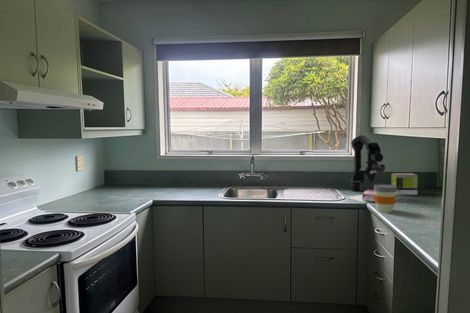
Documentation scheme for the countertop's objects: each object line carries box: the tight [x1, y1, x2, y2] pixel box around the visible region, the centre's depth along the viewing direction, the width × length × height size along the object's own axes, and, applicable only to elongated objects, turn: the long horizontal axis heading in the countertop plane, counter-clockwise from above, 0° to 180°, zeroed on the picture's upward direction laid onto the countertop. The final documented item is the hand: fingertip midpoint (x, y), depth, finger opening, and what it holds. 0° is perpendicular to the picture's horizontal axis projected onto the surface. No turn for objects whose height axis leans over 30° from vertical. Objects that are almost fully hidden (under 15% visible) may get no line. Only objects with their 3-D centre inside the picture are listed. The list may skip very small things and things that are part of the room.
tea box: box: [390, 172, 419, 196], centre depth 244 cm, size 15×10×15 cm
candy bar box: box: [362, 189, 376, 203], centre depth 224 cm, size 11×5×16 cm
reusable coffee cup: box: [373, 183, 397, 214], centre depth 196 cm, size 13×13×15 cm
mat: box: [344, 194, 371, 203], centre depth 228 cm, size 16×16×1 cm
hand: (371, 182), depth 231 cm, fingers closed
